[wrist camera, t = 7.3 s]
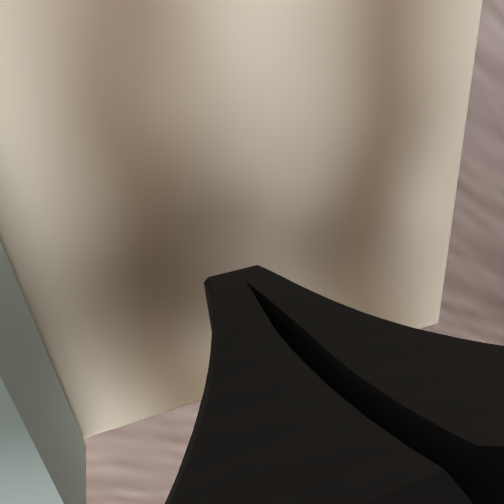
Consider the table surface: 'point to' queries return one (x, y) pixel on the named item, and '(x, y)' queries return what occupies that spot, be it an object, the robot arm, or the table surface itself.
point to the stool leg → (33, 412)
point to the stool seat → (221, 171)
